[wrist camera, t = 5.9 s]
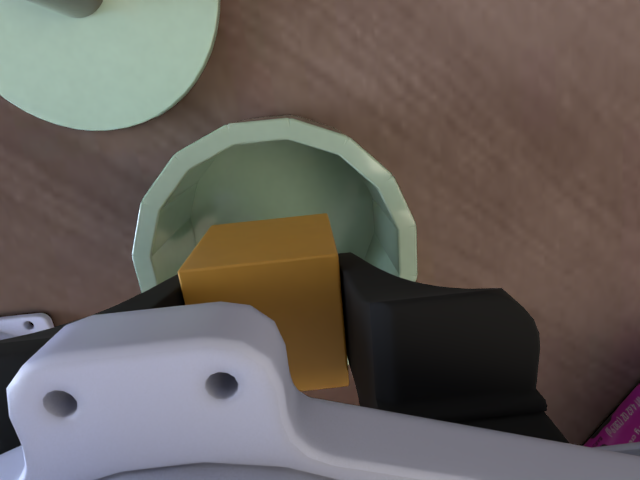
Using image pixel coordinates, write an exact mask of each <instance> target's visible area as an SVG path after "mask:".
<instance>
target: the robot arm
mask: <svg viewBox="0 0 640 480" xmlns="http://www.w3.org/2000/svg"><path fill="white" fill-rule="evenodd" d="M338 257H339V269H340V281H341V292H342V304H343V315H344V327H345V339H346V350H347V358H348V361H349V365H350V368H351V371H352V375H353V378H354V381H355V385H356V389H357V393H358V397H359V403H360V406H356V405H351V404H345V403H339V402H334V401H328V400H323V399H317V398H311V397H308V396H306V395H305V394H303V393H302V392H300V391H299V390H298V389H297V388H296V386H295V385H294V383H293V381H292V378H291V375H290V371H289V365H288V358H287V351H286V345H285V342H284V340H283V338H282V336H281V334H280V332H279V330H278V328H277V326H276V323H275V321H273V320H272V319H270V318H269V317H267V316H266V315H264V314H263V313H261V312H260V311H259V310H257V309H256V308H254V307H253V306H251V305H246V304H238V303H230V302H222V301H219V302H210V303H201V304H191V305H185V303H184V298H183V294H182V290H181V285H180V281H179V277H178V274H177V275H175V276H173V277H171V278H169V279H167V280H165V281H164V282H162V283H160V284H158V285H156V286H154V287H152V288H151V289H149V290H147V291H145V292H143V293H141V294H139V295H137V296H135V297H133V298H131V299H129V300H127V301H125V302H123V303H120V304H118V305H116V306H114V307H111V308H109V309H106V310H104V311H101V312H99V313H96V314H94V315H91V316H88V317H85V318H82V319H79V320H76V321H73V322H70V323H66V324H63V325H60V326H57V327H54V325H53V322H52V319H51V318H50V317H49V316H48V315H47V314H44V313H33V314H23V315H14V316H5V317H0V480H640V442H635V443H627V444H618V445H609V446H601V447H592V448H591V447H585V446H580V445H574V444H569V442H568V441H567V440H566V439H565V437H564V436H563V435H562V434H561V432H560V431H559V430H558V429H557V427H556V426H555V425H554V424H553V422H552V421H551V420H550V418H549V417H548V416H547V415H546V413H545V412H544V411H547V403H546V400H545V399H544V398H543V397H542V395H541V394H540V393H539V392H538V391H537V389H536V383H537V373H538V363H539V353H540V339H539V331H538V329H537V326H536V324H535V321H534V319H533V318H532V317H531V316H530V315H529V313H528V312H527V311H526V310H525V309H524V308H523V307H522V306H521V305H520V304H519V303H518V302H517V301H516V300H514V299H513V298H512V297H511V296H510V295H509V294H508V293H507V292H506V291H504V290H503V289H502V288H488V289H461V288H447V287H439V286H433V285H427V284H422V283H418V282H413V281H410V280H407V279H404V278H400V277H397V276H395V275H392V274H390V273H388V272H386V271H383V270H381V269H379V268H377V267H375V266H373V265H372V264H370V263H368V262H366V261H365V260H363V259H361V258H360V257H358V256H357V255H355V254H353V253H351V252H348V253H339V254H338ZM29 321H30V322H32V323H33V324H34V326H32V325H31V324H30V323H29Z"/></svg>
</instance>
